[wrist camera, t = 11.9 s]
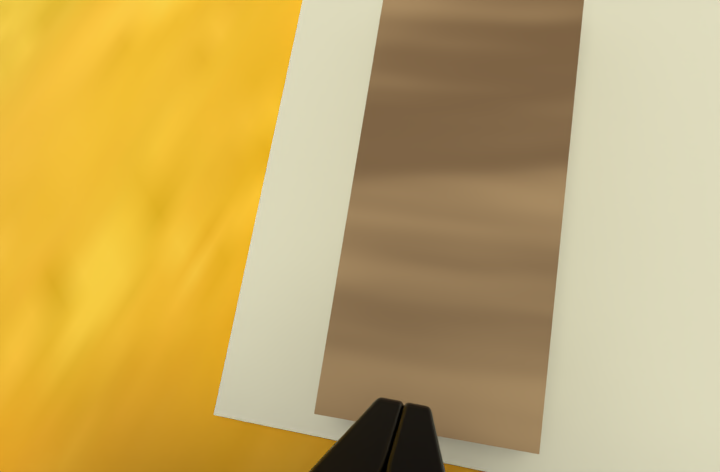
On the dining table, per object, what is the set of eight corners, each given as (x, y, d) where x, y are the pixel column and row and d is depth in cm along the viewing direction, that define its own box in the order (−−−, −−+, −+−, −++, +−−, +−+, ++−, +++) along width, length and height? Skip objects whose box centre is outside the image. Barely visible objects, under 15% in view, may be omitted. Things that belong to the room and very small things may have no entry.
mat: (945, 565, 15) (957, 570, 14) (218, 414, 18) (213, 415, 18) (946, -285, 19) (955, -298, 19) (365, -269, 23) (363, -281, 23)
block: (391, -49, 17) (314, 413, 15) (588, -44, 16) (539, 454, 14) (403, 11, 20) (339, 409, 17) (571, 19, 19) (528, 442, 16)
